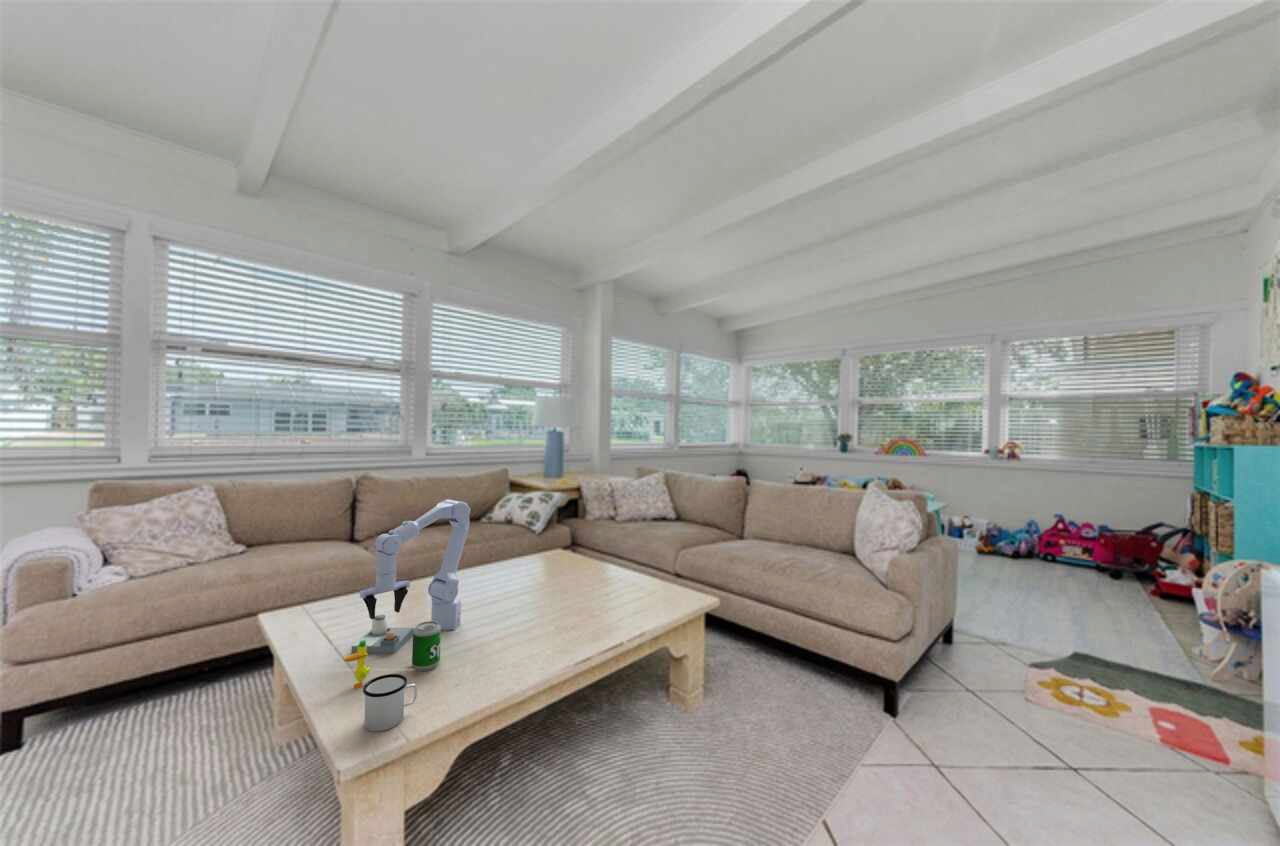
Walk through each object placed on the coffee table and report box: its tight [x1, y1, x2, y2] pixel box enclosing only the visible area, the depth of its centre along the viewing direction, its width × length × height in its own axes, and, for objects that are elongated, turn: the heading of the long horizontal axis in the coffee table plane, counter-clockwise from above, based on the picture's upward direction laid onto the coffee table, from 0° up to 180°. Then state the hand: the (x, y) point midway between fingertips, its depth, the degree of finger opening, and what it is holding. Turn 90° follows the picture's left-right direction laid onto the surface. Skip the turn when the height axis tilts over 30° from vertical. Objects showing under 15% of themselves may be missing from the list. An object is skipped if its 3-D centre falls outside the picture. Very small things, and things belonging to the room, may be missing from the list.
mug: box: [362, 673, 418, 732], centre depth 117 cm, size 12×10×9 cm
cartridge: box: [371, 614, 388, 635], centre depth 159 cm, size 4×4×7 cm
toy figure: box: [343, 640, 372, 689], centre depth 131 cm, size 7×4×12 cm, turn 132°
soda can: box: [411, 620, 442, 672], centre depth 142 cm, size 8×8×12 cm
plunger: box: [385, 631, 395, 641], centre depth 151 cm, size 3×3×2 cm
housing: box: [351, 627, 414, 654], centre depth 156 cm, size 13×14×4 cm
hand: (384, 614), depth 154 cm, fingers open, 7 cm apart
